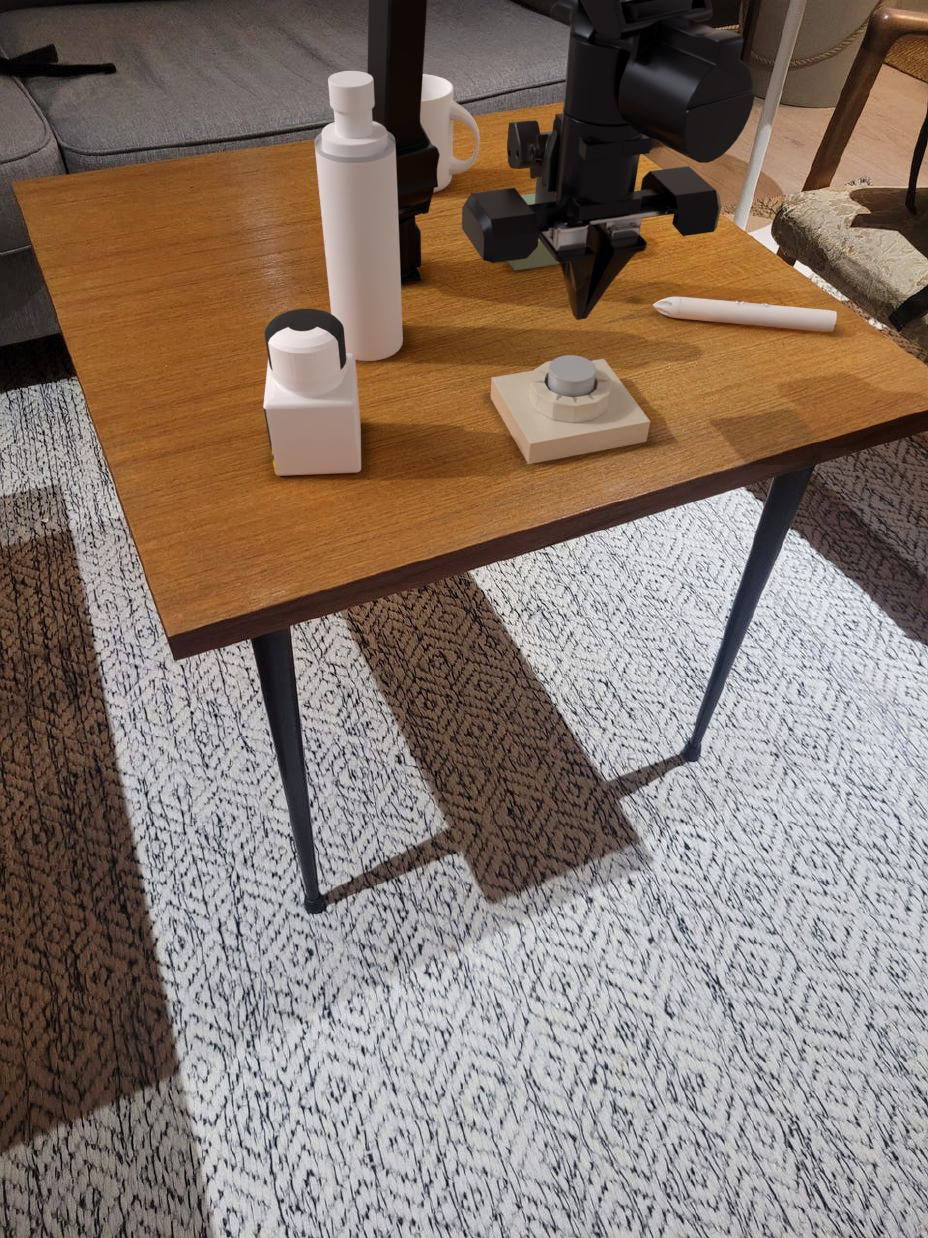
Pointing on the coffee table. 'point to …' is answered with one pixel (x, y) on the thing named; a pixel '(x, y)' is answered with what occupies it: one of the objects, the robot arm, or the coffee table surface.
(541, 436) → the button housing
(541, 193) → the dial
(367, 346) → the white bottle
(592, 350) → the coffee table surface
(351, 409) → the medicine bottle
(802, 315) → the marker
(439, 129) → the mug
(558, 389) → the gray button cap
